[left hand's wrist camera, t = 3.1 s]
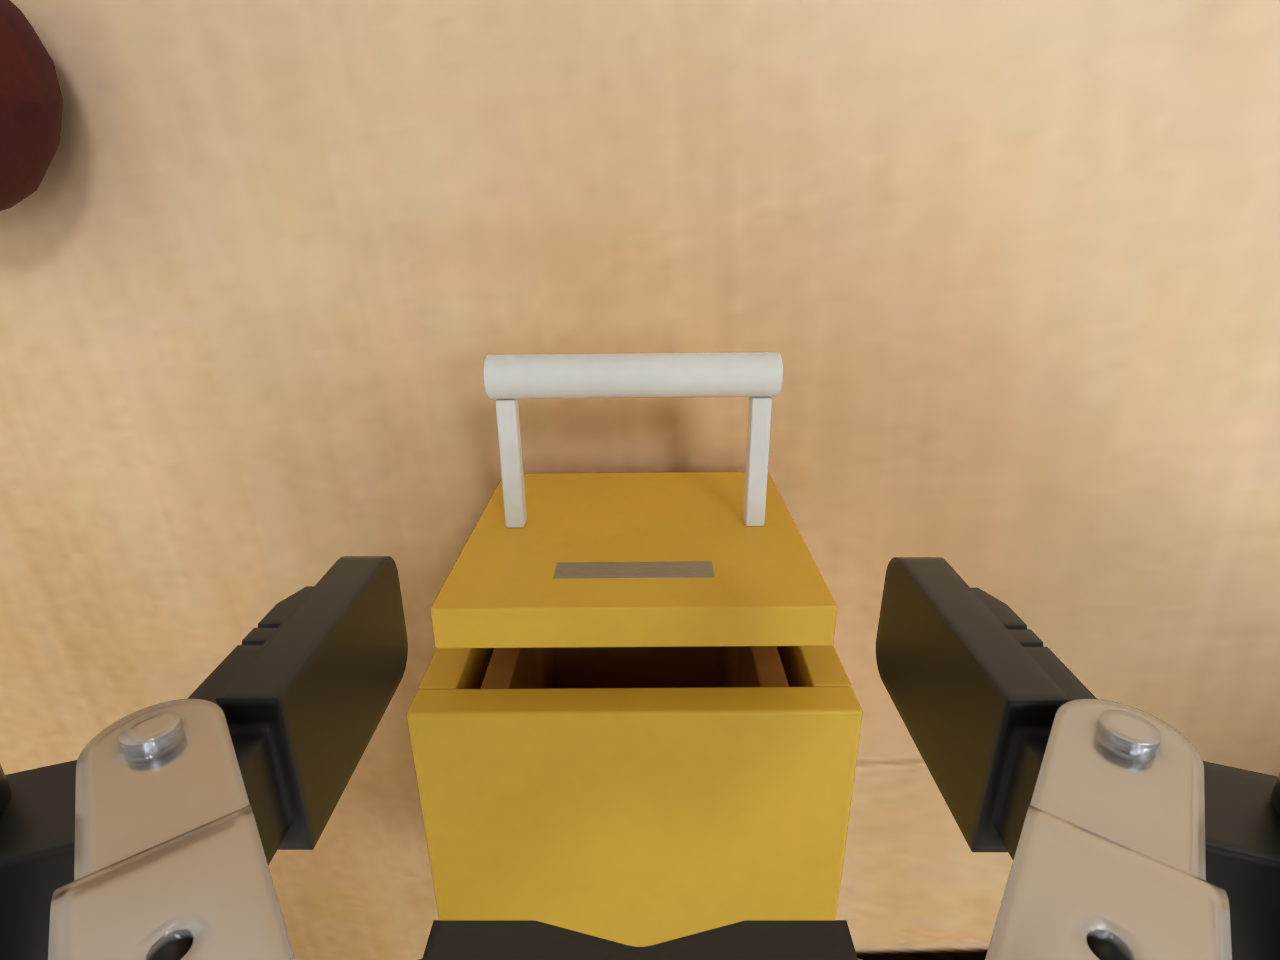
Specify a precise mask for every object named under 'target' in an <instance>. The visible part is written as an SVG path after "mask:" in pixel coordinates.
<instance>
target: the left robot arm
mask: <svg viewBox="0 0 1280 960" xmlns="http://www.w3.org/2000/svg"><path fill="white" fill-rule="evenodd" d="M407 651H408V643H407V634H406V627H405V620H404V613H403V606H402V599H401V592H400V585H399V578H398V571H397V567H396V564H395V561H394V560H393V559H392V558H391V557H389V556H345V557H341V558H340V559H339V560H338V561H337V562H336V563H335V564H334V565H333V566H332V567H331V569H330V570H329V571H328V572H327V573H326V574H325V575H324V576H323V578H322V579H321V580H320V581H319V582H318V583H317V584H316V585H315V587H305V588H303V589H302V590H300V591H298V592H296V593H295V594H293V595H291V596H290V597H288V598H286V599H285V600H283V601H281V602H279V603H278V604H277V605H276V606H275V607H274V608H273V609H272V610H271V611H270V612H269V613H268V614H267V615H266V616H265V617H264V618H263V619H262V620H261V621H260V623H259V624H258V628H254V629H253V630H252V631H251V632H250V633H249V634H248V635H247V636H246V637H245V638H244V639H243V640H242V645H238V646H237V647H236V648H235V649H234V650H233V651H232V652H231V653H230V654H229V655H228V656H227V657H226V658H225V660H224V661H223V662H222V663H221V664H220V665H219V666H218V667H217V668H216V669H215V670H214V671H213V672H212V673H211V674H210V675H209V676H208V678H207V679H206V680H205V681H204V682H203V683H202V684H201V685H200V686H199V687H198V688H197V689H196V690H195V691H194V692H193V693H192V694H191V695H190V697H189V698H188V699H181V700H173V701H169V702H164V703H160V704H156V705H153V706H150V707H147V708H144V709H142V710H139V711H137V712H134V713H132V714H130V715H128V716H126V717H124V718H122V719H120V720H118V721H117V722H115V723H113V724H112V725H110V726H109V727H107V728H106V729H104V730H103V731H102V732H100V733H99V734H98V735H97V736H95V737H94V738H93V739H92V740H91V741H90V742H89V743H88V744H87V745H86V747H85V748H84V749H83V751H82V752H81V754H80V756H79V758H78V760H75V761H70V762H66V763H61V764H56V765H51V766H47V767H42V768H37V769H32V770H27V771H23V772H18V773H13V774H8V775H5V774H4V772H3V769H2V767H1V765H0V960H295V959H294V955H293V952H292V948H291V945H290V941H289V938H288V934H287V931H286V927H285V924H284V920H283V916H282V913H281V909H280V906H279V902H278V899H277V895H276V892H275V888H274V885H273V881H272V878H271V874H270V871H269V867H268V865H269V863H270V861H271V860H272V858H273V856H274V855H275V853H276V851H277V849H303V850H304V849H308V850H309V849H310V850H313V849H314V847H315V845H316V843H317V841H318V839H319V837H320V835H321V833H322V831H323V830H324V828H325V826H326V824H327V822H328V820H329V818H330V816H331V814H332V812H333V810H334V808H335V806H336V805H337V803H338V801H339V799H340V797H341V795H342V793H343V791H344V789H345V787H346V785H347V783H348V781H349V779H350V778H351V776H352V774H353V772H354V770H355V768H356V766H357V764H358V762H359V760H360V758H361V756H362V754H363V753H364V751H365V749H366V747H367V745H368V743H369V741H370V739H371V737H372V735H373V733H374V731H375V729H376V727H377V726H378V724H379V722H380V720H381V718H382V716H383V714H384V712H385V710H386V708H387V706H388V704H389V702H390V701H391V699H392V697H393V695H394V693H395V691H396V689H397V687H398V685H399V683H400V681H401V679H402V677H403V674H404V671H405V667H406V661H407ZM876 659H877V665H878V670H879V674H880V677H881V679H882V681H883V683H884V685H885V687H886V689H887V691H888V693H889V695H890V697H891V699H892V700H893V702H894V704H895V706H896V708H897V710H898V712H899V714H900V716H901V718H902V719H903V721H904V723H905V725H906V727H907V729H908V731H909V733H910V735H911V737H912V738H913V740H914V742H915V744H916V746H917V748H918V750H919V752H920V754H921V756H922V757H923V759H924V761H925V763H926V765H927V767H928V769H929V771H930V773H931V775H932V776H933V778H934V780H935V782H936V784H937V786H938V788H939V790H940V792H941V794H942V796H943V797H944V799H945V801H946V803H947V805H948V807H949V809H950V811H951V813H952V815H953V816H954V818H955V820H956V822H957V824H958V826H959V828H960V830H961V832H962V834H963V835H964V837H965V839H966V841H967V843H968V845H969V847H970V849H971V851H972V852H1009V854H1010V856H1011V857H1012V859H1013V864H1012V867H1011V871H1010V874H1009V878H1008V881H1007V885H1006V888H1005V892H1004V895H1003V899H1002V902H1001V906H1000V909H999V913H998V916H997V920H996V923H995V927H994V931H993V934H992V938H991V941H990V945H989V948H988V952H987V955H986V959H985V960H1280V774H1279V776H1278V777H1276V776H1271V775H1266V774H1262V773H1257V772H1252V771H1247V770H1243V769H1238V768H1233V767H1228V766H1224V765H1219V764H1214V763H1209V762H1205V761H1203V760H1202V758H1201V756H1200V754H1199V752H1198V751H1197V749H1196V748H1195V747H1194V745H1193V744H1192V743H1191V742H1190V741H1189V740H1188V739H1187V738H1186V737H1185V736H1183V735H1182V734H1181V733H1180V732H1178V731H1177V730H1176V729H1174V728H1173V727H1171V726H1170V725H1168V724H1167V723H1165V722H1163V721H1162V720H1160V719H1158V718H1156V717H1154V716H1152V715H1150V714H1148V713H1146V712H1143V711H1141V710H1138V709H1136V708H1133V707H1130V706H1127V705H1124V704H1120V703H1116V702H1111V701H1107V700H1099V699H1096V698H1095V696H1094V695H1093V694H1092V693H1091V692H1090V691H1089V690H1088V689H1087V688H1086V687H1085V686H1084V685H1083V684H1082V683H1081V682H1080V681H1079V680H1078V679H1077V678H1076V677H1075V675H1074V674H1073V673H1072V672H1071V671H1070V670H1069V669H1068V668H1067V667H1066V666H1065V665H1064V664H1063V663H1062V662H1061V661H1060V660H1059V659H1058V658H1057V657H1056V656H1055V655H1054V653H1053V652H1052V651H1051V650H1050V649H1049V648H1048V647H1043V642H1042V641H1041V640H1040V639H1039V638H1038V637H1037V636H1036V635H1035V634H1034V633H1033V631H1032V630H1027V625H1026V624H1025V623H1024V622H1023V621H1022V620H1021V619H1020V618H1019V617H1018V616H1017V615H1016V614H1015V613H1014V612H1013V611H1012V609H1011V608H1010V607H1009V606H1008V605H1006V604H1005V603H1003V602H1001V601H999V600H998V599H996V598H994V597H993V596H991V595H989V594H987V593H986V592H984V591H982V590H981V589H979V588H970V587H969V586H968V585H967V584H966V583H965V582H964V581H963V579H962V578H961V577H960V576H959V575H958V574H957V573H956V572H955V570H954V569H953V568H952V567H951V566H950V565H949V564H948V563H947V562H946V561H945V560H944V559H943V558H893V559H891V561H890V562H889V564H888V567H887V571H886V577H885V584H884V590H883V597H882V604H881V611H880V618H879V625H878V632H877V639H876ZM419 960H861V959H858V958H857V955H856V952H855V949H854V945H853V942H852V938H851V935H850V932H849V928H848V925H847V921H846V920H745V921H741V922H737V923H733V924H730V925H726V926H722V927H718V928H715V929H711V930H707V931H704V932H700V933H696V934H692V935H689V936H685V937H681V938H677V939H674V940H670V941H666V942H662V943H659V944H655V945H651V946H645V947H635V946H629V945H625V944H621V943H618V942H614V941H610V940H606V939H603V938H599V937H595V936H591V935H588V934H584V933H580V932H576V931H573V930H569V929H565V928H562V927H558V926H554V925H550V924H547V923H543V922H539V921H535V920H434V921H433V925H432V928H431V932H430V935H429V938H428V942H427V945H426V949H425V952H424V955H423V958H422V959H419Z"/></svg>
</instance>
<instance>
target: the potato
mask: <svg viewBox="0 0 1280 960" xmlns="http://www.w3.org/2000/svg"><path fill="white" fill-rule="evenodd" d="M62 103H63V99H62V95H61V91H60V87H59V83H58V79H57V75H56V71H55V67H54V63H53V61H52V59H51V57H50V56H49V54H48V52H47V51H46V49H45V47H44V45H43V44H42V42H41V40H40V39H39V37H38V35H37V34H36V32H35V30H34V29H33V27H32V26H31V24H30V23H29V22H28V20H27V19H26V17H25V16H24V15H23V13H22V12H21V11H20V9H19V8H17V7H16V6H15V5H14V4H13V3H12V2H11V1H10V0H0V211H1V210H4V209H8V208H11V207H13V206H14V205H16V204H17V203H19V202H20V201H21V200H23V199H24V198H26V197H27V196H29V195H30V194H32V193H33V192H35V191H36V190H37V188H38V186H39V185H40V183H41V181H42V179H43V177H44V175H45V173H46V171H47V169H48V166H49V164H50V162H51V160H52V158H53V156H54V154H55V151H56V149H57V147H58V145H59V139H60V127H61V115H62Z"/></svg>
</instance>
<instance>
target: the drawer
mask: <svg viewBox="0 0 1280 960" xmlns="http://www.w3.org/2000/svg"><path fill="white" fill-rule="evenodd" d="M782 379H783V365H782V358H781V355H780V353H779V352H727V353H615V354H503V355H487V356H486V357H485V360H484V367H483V380H484V388H485V392H486V395H487V397H488V398H489V399H497V400H496V402H495V406H496V417H497V429H498V441H499V452H500V464H501V475H502V479H501V480H500V482H499V484H498V486H497V488H496V490H495V491H494V493H493V495H492V497H491V499H490V501H489V502H488V504H487V506H486V508H485V510H484V512H483V513H482V515H481V517H480V519H479V521H478V523H477V524H476V526H475V528H474V530H473V532H472V534H471V535H470V537H469V539H468V541H467V543H466V545H465V546H464V548H463V550H462V552H461V554H460V556H459V557H458V559H457V561H456V563H455V565H454V567H453V568H452V570H451V572H450V574H449V576H448V578H447V579H446V581H445V583H444V585H443V587H442V589H441V590H440V592H439V594H438V596H437V598H436V600H435V601H434V603H433V605H432V607H431V609H430V612H431V619H432V626H433V634H434V641H435V647H436V648H494V651H493V653H492V656H491V659H490V662H489V665H488V668H487V671H486V674H485V677H484V680H483V682H482V685H481V688H480V689H556V688H709V687H789V684H788V681H787V678H786V675H785V671H784V668H783V665H782V662H781V659H780V656H779V653H778V649H777V646H832V645H833V641H834V632H835V622H836V613H837V605H836V603H835V601H834V599H833V597H832V595H831V593H830V591H829V590H828V588H827V586H826V584H825V582H824V580H823V578H822V576H821V574H820V572H819V570H818V568H817V566H816V564H815V562H814V560H813V558H812V556H811V554H810V552H809V550H808V548H807V546H806V544H805V542H804V541H803V539H802V537H801V535H800V533H799V531H798V529H797V527H796V525H795V523H794V521H793V519H792V517H791V515H790V513H789V511H788V509H787V507H786V505H785V503H784V501H783V499H782V497H781V495H780V493H779V492H778V490H777V488H776V486H775V484H774V482H773V480H772V478H771V476H770V474H769V472H768V457H769V440H770V423H771V407H772V399H771V397H777V396H779V394H780V392H781V387H782ZM667 397H749V411H748V432H747V453H746V472H661V473H538V474H524V473H523V460H522V446H521V433H520V419H519V406H518V399H551V398H667Z"/></svg>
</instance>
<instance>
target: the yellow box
mask: <svg viewBox="0 0 1280 960" xmlns="http://www.w3.org/2000/svg"><path fill="white" fill-rule="evenodd" d="M777 649H778V653H779V656H780V659H781V662H782V665H783V668H784V671H785V675H786V678H787V681H788V684H789V687H709V688H556V689H480V688H481V685H482V682H483V680H484V677H485V674H486V671H487V668H488V665H489V662H490V659H491V656H492V653H493V651H494V648H437V650H436V652H435V654H434V656H433V658H432V661H431V663H430V665H429V667H428V669H427V671H426V673H425V675H424V677H423V679H422V681H421V684H420V686H419V688H418V689H419V690H418V691H417V693H416V695H415V697H414V699H413V702H412V704H411V706H410V708H409V710H408V712H407V721H408V727H409V734H410V740H411V746H412V752H413V759H414V765H415V771H416V777H417V784H418V790H419V796H420V802H421V809H422V815H423V821H424V828H425V834H426V840H427V846H428V853H429V859H430V865H431V871H432V878H433V884H434V890H435V897H436V903H437V909H438V915H439V920H535V921H539V922H543V923H547V924H550V925H554V926H558V927H562V928H565V929H569V930H573V931H576V932H580V933H584V934H588V935H591V936H595V937H599V938H603V939H606V940H610V941H614V942H618V943H621V944H625V945H629V946H635V947H645V946H651V945H655V944H659V943H662V942H666V941H670V940H674V939H677V938H681V937H685V936H689V935H692V934H696V933H700V932H704V931H707V930H711V929H715V928H718V927H722V926H726V925H730V924H733V923H737V922H741V921H745V920H836V913H837V906H838V898H839V890H840V883H841V875H842V867H843V859H844V852H845V844H846V836H847V829H848V821H849V813H850V805H851V798H852V790H853V782H854V775H855V767H856V759H857V751H858V744H859V736H860V728H861V720H862V713H863V711H862V709H861V707H860V704H859V702H858V700H857V698H856V696H855V693H854V691H853V689H852V688H851V684H850V681H849V679H848V677H847V675H846V673H845V670H844V668H843V666H842V664H841V662H840V659H839V657H838V655H837V653H836V651H835V648H834V646H833V645H832V646H777Z"/></svg>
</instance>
